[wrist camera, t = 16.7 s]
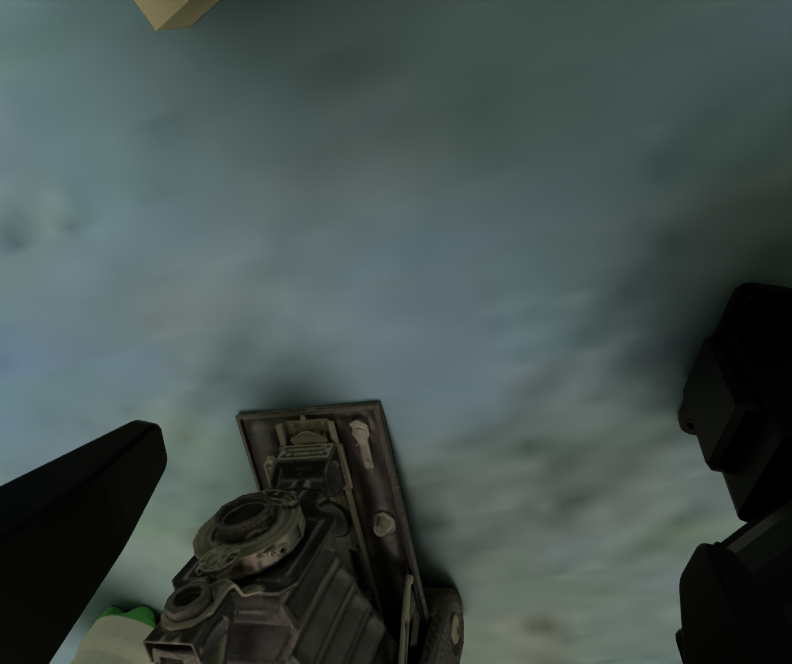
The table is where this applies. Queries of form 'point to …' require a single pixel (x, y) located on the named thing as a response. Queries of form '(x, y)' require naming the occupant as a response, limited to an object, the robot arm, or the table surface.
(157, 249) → the table surface
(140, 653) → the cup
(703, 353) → the robot arm
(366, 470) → the camera
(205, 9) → the board
